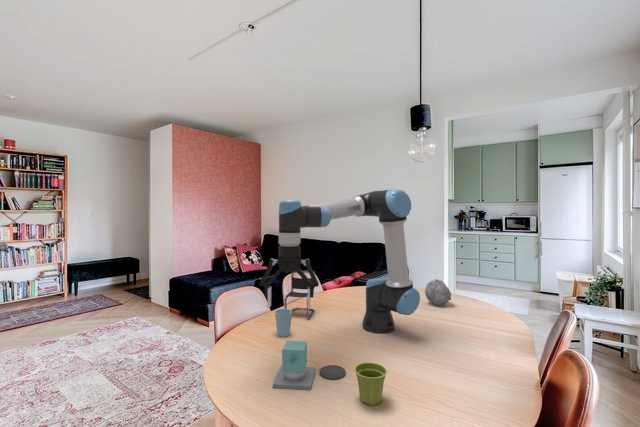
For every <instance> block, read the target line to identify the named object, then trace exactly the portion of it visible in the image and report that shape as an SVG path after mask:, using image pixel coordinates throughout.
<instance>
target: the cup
mask: <svg viewBox="0 0 640 427" xmlns="http://www.w3.org/2000/svg"><path fill="white" fill-rule="evenodd" d="M292 315H293V312H292V309H289V308H287V309H285V308H280V309H276V310H275V311H274V317H275V325H276V332H277V333H276V334H277V336H278V337H280V338H285V337H289V336H290V334H291V326H292V325H291V324H292Z"/></svg>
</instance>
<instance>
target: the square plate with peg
mask: <svg viewBox="0 0 640 427" xmlns="http://www.w3.org/2000/svg"><path fill="white" fill-rule="evenodd" d="M315 373H316V367H315V366H306V368H305V371H304V372H284V371H282V365H280V368H279V370H278V371H277V373H276V376H275V377H274V380H273V381H272V389H285V390H286V389H287V390H301V391H302V390H303V391H304V390H305V391H311V390H312V386H313V382H314V378H315Z"/></svg>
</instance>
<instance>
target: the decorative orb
mask: <svg viewBox="0 0 640 427" xmlns="http://www.w3.org/2000/svg"><path fill="white" fill-rule="evenodd" d="M424 288H425V289H424V294H425V298H426V299H427V300H428V301H429V303H431V304H433V305H435V306H444V305H446V304H448V303H449V301H452V300H451V299H452V292H451V290H450V289H449V288H448V286H447V284H445V282H444V281H443V280H440V279H438V278H437V279H435V280H434V279H433V280H431V281H429V282H428V283H427V284H426V286H425V287H424Z"/></svg>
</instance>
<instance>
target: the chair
mask: <svg viewBox="0 0 640 427" xmlns="http://www.w3.org/2000/svg"><path fill="white" fill-rule="evenodd" d="M302 271H303V273H304V274H309V272H308V270H302ZM313 272H314V274H316V271H313ZM294 274H298V273H297V272H296V271H295V272H291V279H290V280H291V291H289V292H288V293H287V294H286V295H285V297H284V309H288V308H287V307H288V306H287V305H288V304H287V302H288V301H287V300H288V298H289V297H292V298H306V307H305V308H304V307H303V308H302V307H294V308H292V309H291V310H292V313H293V312H294V311H306V319H307V320H310V319H311V317H312V316H313V315H314V313H315V309H313V308H308V292H296V291H294V290H307V291H308V287H309V286H308V285H307V283H306V282H305V281H304V280H303V279H302V277H301V278H299V277H294ZM308 279H309V280H310V281H311V282H312V283H314V282H313V280H312V278H311V277H310V278H309V277H308ZM314 293H315V288H314V289H313V295H314Z"/></svg>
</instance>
